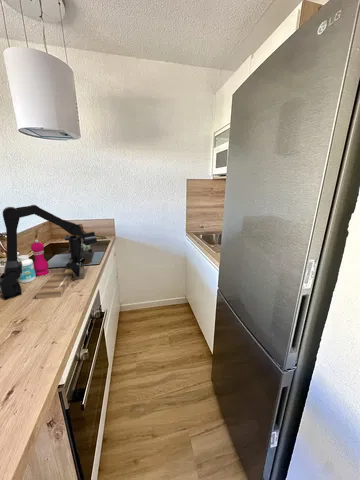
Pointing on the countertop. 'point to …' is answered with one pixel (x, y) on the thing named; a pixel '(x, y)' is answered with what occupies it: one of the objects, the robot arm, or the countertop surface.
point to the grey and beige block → (81, 276)
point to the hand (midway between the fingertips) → (79, 274)
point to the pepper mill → (39, 259)
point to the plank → (55, 286)
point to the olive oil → (84, 245)
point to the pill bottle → (26, 269)
